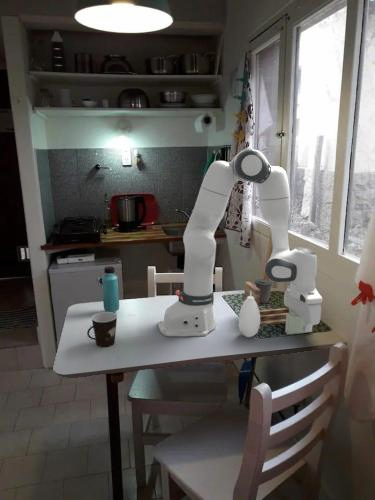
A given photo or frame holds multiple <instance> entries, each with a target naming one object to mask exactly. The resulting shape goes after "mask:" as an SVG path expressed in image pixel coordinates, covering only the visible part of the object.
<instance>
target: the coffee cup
mask: <svg viewBox="0 0 375 500" xmlns="http://www.w3.org/2000/svg"><path fill="white" fill-rule="evenodd" d="M254 285H255V286H256V287H257V288H258V289H260V303H259V304H267V303H268V302H269V300H270V294H271V288H272V285H273V281H272V280H271V279H265V278H260V279H256V280H255V281H254Z"/></svg>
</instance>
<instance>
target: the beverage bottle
mask: <svg viewBox="0 0 375 500" xmlns="http://www.w3.org/2000/svg"><path fill="white" fill-rule="evenodd" d="M103 272H104V274H105V275H103V277H102V278H101V279H102V299H103V300H102V302H103V310H104V312H112V313H115V312H118V311H119V310H120V298H119V296H120V295H119V283H118V282H119V281H118V277H119V276H117V275H116V274H115V267H114V266H106V267H104V271H103Z"/></svg>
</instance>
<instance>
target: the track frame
mask: <svg viewBox="0 0 375 500" xmlns="http://www.w3.org/2000/svg"><path fill="white" fill-rule="evenodd" d="M290 283H291V281H290V282H289V284H290ZM289 284H288V285H289ZM250 292H251V296H253V297H254V300H255V301H256V303H257V305H258V308H259V312H260V325H264V326H267V325H266V324H273V325H280V324H279V323H282V324H286V315H290V313H289V308H288V307H282V308H274V309H273V308H271V309H263V310H262V309H261V310H260V304H261V303H260V289H258V288H257V287H256V284H253V283H252V282H251V281H245V283H244V298H243V299H244V301H243V303H244V302H245V300H246V299H247V297H248V296H250Z"/></svg>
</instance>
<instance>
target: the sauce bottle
mask: <svg viewBox="0 0 375 500" xmlns="http://www.w3.org/2000/svg"><path fill="white" fill-rule="evenodd" d="M259 311H260V307H259V308H258V305H257V303H256V301H255V300H254V297H253V296H251V292H250V296H248V297H247V299H246V300H245V302H244V301H243V304H242V305H241V307H240V310H239V314H238V326H239V330H240V332H241V334H242V335H243V336H245V337H246V338H251V337H253V336H256V335H257V333H258V332H259V330H260V327H261V326H260V312H259Z"/></svg>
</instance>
